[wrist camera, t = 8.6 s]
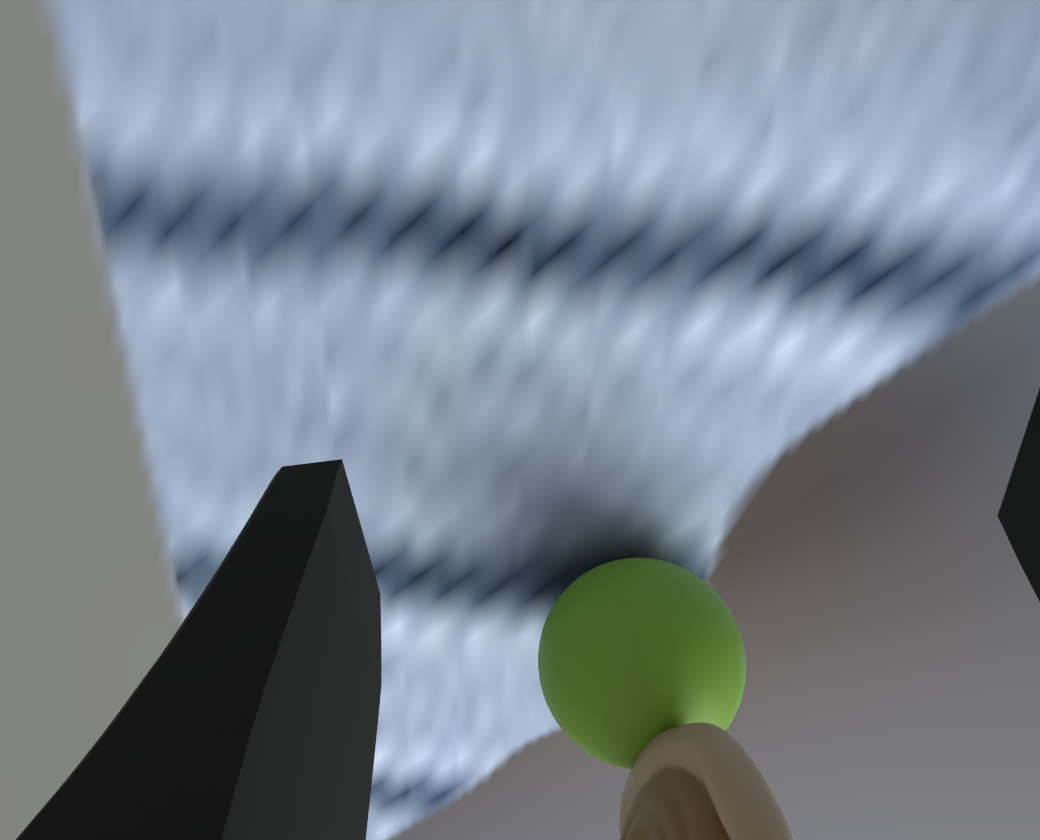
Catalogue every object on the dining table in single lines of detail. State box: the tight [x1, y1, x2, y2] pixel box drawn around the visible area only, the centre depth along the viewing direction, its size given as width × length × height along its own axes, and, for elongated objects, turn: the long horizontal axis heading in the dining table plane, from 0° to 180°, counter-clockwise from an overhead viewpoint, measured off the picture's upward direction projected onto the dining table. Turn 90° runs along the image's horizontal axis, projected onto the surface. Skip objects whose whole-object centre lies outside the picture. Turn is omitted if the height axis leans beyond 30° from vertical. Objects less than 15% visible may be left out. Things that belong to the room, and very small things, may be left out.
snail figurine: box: [538, 558, 793, 840], centre depth 21 cm, size 5×6×12 cm
